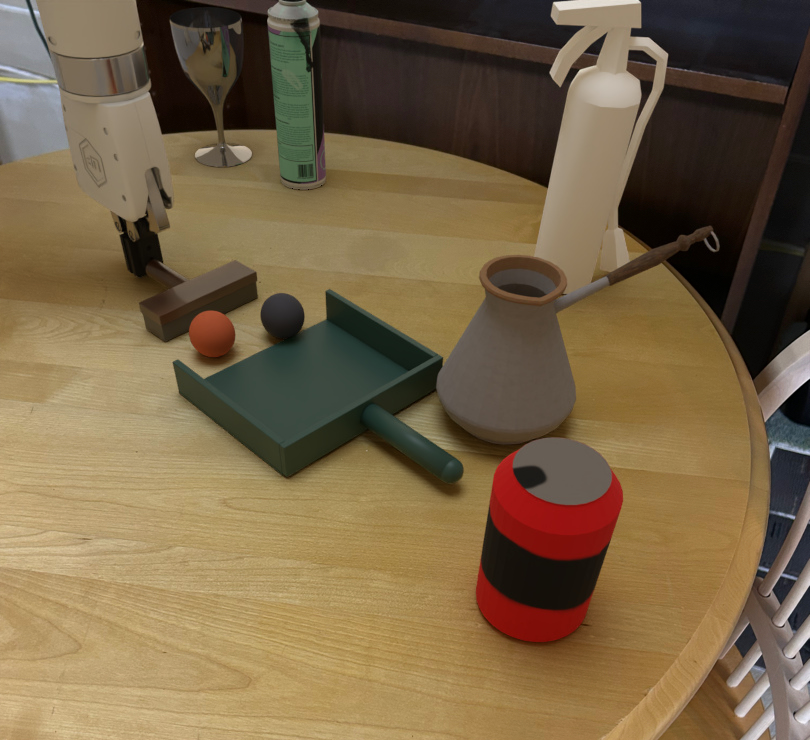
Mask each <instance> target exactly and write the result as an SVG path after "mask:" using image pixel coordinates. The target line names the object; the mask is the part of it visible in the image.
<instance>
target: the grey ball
mask: <svg viewBox="0 0 810 740" xmlns="http://www.w3.org/2000/svg"><path fill="white" fill-rule="evenodd" d="M305 316H306V315H305V309H304V307H303V304H301V302H300V300H299V299H297V298H296V297H295V296H294V295H292V294H289V293H286V292H278V293H277V292H276V293H274V294H272V295H270V296H269V297H267V298H266V299H265V300H264V302H263V304H262V305H261V308H260V315H259V317H260V321H261V324H262V326H263V328H264V330H265V331H266V332H267V333H268V334H269V335H271V336H273V337H275V338H278V339H287V338H290V337H292V336H294V335H296V334H297V333H299V332H301V329H302V328H303V327H304V323H305V319H306V318H305Z"/></svg>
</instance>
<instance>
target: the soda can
mask: <svg viewBox="0 0 810 740" xmlns="http://www.w3.org/2000/svg"><path fill="white" fill-rule="evenodd" d="M623 503H624V491H623V487H622V484H621V482H620V480H619V479H618V477H617V475H616V474H615V472H614V471H613V470H612V468H611V466H610V464H609V463H608V461H607V460H606V458H605V457H604V456H603V455H602V454H601V453H600V452H598V451H597V450H596V449H595V448H593V447H591V446H590V445H588V444H586V443H583V442H580V441H578V440H575V439H570V438H567V437H565V438H564V437H544V438H543V437H542V438H537V439H535V440H531V441H529V442H528V443H526V444H524V445H522V447H520V448H519V449H517V450H515V451H513V452H512V453H510V454H508V455H507V456H506V457H504V458H503V459H502V460H501V461H500V463H499V464H498V465H497V466H496V469H495V471H494V473H493V478H492V484H491V492H490V497H489V503H488V509H487V516H486V522H485V528H484V535H483V542H482V548H481V554H480V561H479V567H478V572H477V579H476V585H475V598H476V603H477V605H478V608H479V611H481V613H482V615H483V617H484V618H485V620H487V621H488V622H489V623H490V625H492V626H493V627H494V628H495V629H496V630H498V631H500V632H501V633H503V634H505V635H507V636H508V637H511V638H514V639H517V640H521V641H525V642H531V643H547V642H552V641H557V640H560V639H563V638H566V637H568V636H569V635H571V634H572V633H573V632H575V631H576V630H577V629H578V628H579V627H580V626H581V625H582V624H583V621H584V620H585V618H586V615H587V614H588V610H589V606H590V605H591V604H590V603H591V602H592V601H591V600H592V598H593V595H594V592H595V590H596V589H595V588H596V585H597V584H598V580H599V577H600V574H601V571H602V568H603V565H604V561H605V559H606V555H607V553H608V549H609V547H610V544H611V540H612V538H613V535H614V532H615V530H616V529H615V528H616V525H617V522H618V519H619V517H620V513H621V510H622V508H623V507H622V506H623Z"/></svg>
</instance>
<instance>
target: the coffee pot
mask: <svg viewBox="0 0 810 740" xmlns="http://www.w3.org/2000/svg"><path fill="white" fill-rule="evenodd" d="M710 235H711V236H712V237H713V239H714V241H715V246H716V249H714V248H713V247H712V246H711V245H710V244H709V241H708V239H707V238H708V237H709V236H710ZM702 241H703V242H704V245H706V247H707V248H708V249H709V251H710V252H713V253H717V252H719V251H720V241H719V238H718V236H717V235H716V233H715V232H714V227H713V226H712V225H707V226H703V227H700V228H697V229H696V230H694V232H693V233H691V234H688V235H685V234H680V235H679V236H678V237H677V239H676V241H673V242H670V243H667V244H663V245H660V246H658V247H654V248H651V249H650V250H648V251H646V252H644V253H642V254H641V255H639V256H637V257H635V258H634V259H632V260H630V262H628V263H627V264H625V265H623V266H621V267H619V268H618V269H616V270H614V271H612V272H609V273H607V274H605V275H604V276H603V277H601V278H599V279H597V280H595V281H593V282H592V281H591V283H590V284H588V285H586V286H584V287H582V288H579V289H577V290H575V291H573V292H571V293H569V294H563V293H564V291H565V289H566V287H567V277H566V275H565V274H564V272H563V271H562V270H561V269H560V268H559V267H558V266H556V265H555V264H553V263H551V262H549V261H547V260H544V259H541V258H538V257H534V255H528V254H507V255H502V256H497V257H494V258H492V259H489V260H488V261H487V262H486V263H484V264H483V266H482V267H481V269H480V271H479V275H478V279H479V281H480V284H481V286H482V287H483V289H484V294H485V297H484V299H483V300H482V302H481V304H480V305H479V307H478V308H477V310H476V312H475V313H474V315H473V316H472V318H471V320H470V321H469V323H468V325H467V326H466V328H465V329H464V331H463V333H462V335H461V336H460V338H459V339H458V341H457V342H456V344H455V345H454V347H453V349H452V350H451V352H450V354H449V356H448V357H447V359H446V360H445V362H443V367H442V368H441V370H440V372H439V373H438V377H437V384H436V389H435V390H436V393H437V396H438V399H439V402H440V404H441V407H442V408H443V410H444V412H445V413H446V414H447V416H448V417H449V418H450V420H452V421H453V422H454V423H456V424H457V425H458V426H459V427H461V428H462V429H464V431H466V432H467V433H468V434H470V435H471V436H473V437H475V438H476V439H479V440H481V441H484V442H487V443H492V444H496V445H497V444H498V445H506V446H508V445H519V444H523V443H527V442H531V441H533V440H534V439H535V440H536V439H539V438H541V437H543V436H545V435H547V434H549V433H550V432H553V431H555V430H557V428H558V427H559V426H560V425H561V424H562V423H563V422H564V421H565V420H566V419H567V418H568V417H569V416H570V414H572V411H573V409H574V407H575V404H576V401H577V389H576V383H575V379H574V375H573V371H572V367H571V363H570V361H569V360H570V359H569V356H568V353H567V349H566V346H565V345H566V344H565V341H564V338H563V334H562V330H561V326H560V323H559V319H558V315H557V314H558V313H560V312H562V311H564V310H566V309H567V308H569V307H571V306H573V305H575V304H577V303H579V302H581V301H582V300H585V299H586V298H588V297H590V296H592V295H595V293H598V292H600V291H602V290H604V289H605V288H607V287H611V286H613V285H616V284H618V283H620V282H623V281H625V280H627V279H629V278H632V277H634V276H637V275H639V274H641V273H644V272H646V271H648V270H650V269H653V268H655V267H657V266H660V265H661V264H662V263H664V262H665V261H666V260H668V259H669V258H671V257H672V256H674V255H675V254H677V253H678V252H680V251H681V252H687V251H689V249H690V247H691V245H693V244H695V243H697V242H702ZM561 295H563V296H561Z"/></svg>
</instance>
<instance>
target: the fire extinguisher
mask: <svg viewBox="0 0 810 740" xmlns="http://www.w3.org/2000/svg"><path fill="white" fill-rule="evenodd" d="M550 17H551V19H552V20H553V21H554V23H555V25H557V26H558V25H559V26H579V27H582V28H581V29H579V30H578V31H577V32H576V33H574V34H573V36H572V37H571V38H569V40H568V41H567V42H566V44H565V45H564V46H562V48H560V50H559V51H558V54H557V55H556V58H555V59H554V62H553V64H552V66H551V68H550V70H549V75H550V77H551V78H552V80H553V81H554V82H555V84H556V85H558V86H559V88H561V87H562V85H563V84H564V81H565V79H566V77H567V75H568V73H569V72H570V69H571V68H572V67H573V66H572V65H573V64H574V63H575V62H576V61H577V60H578V59H579V58H580V57H581V56H582V54H583V53H584V52H585V51H586V50H587V49H588V48H589V47H590V46H591V45H592V44H594V43H595V42H597V40H599V39H600V38H602V37H603V36H604V35H606V36H605V38H604V42H603V44H602V47H601V49H600V52H599V55H598V58H597V60H596V64H595V65H592V66H588V67H585V68H581V69H579V71H578V72H577V73H576V75H575V76H574V78H573V79H572V81H571V82H570V84H569V87H568V91H567V93H566V94H567V95H566V99H565V104H564V109H563V113H562V119H561V124H560V129H559V133H558V138H557V142H556V148H555V152H554V157H553V162H552V166H551V172H550V177H549V182H548V186H547V187H548V188H547V191H546V196H545V200H544V205H543V209H542V210H543V211H542V216H541V219H540V225H539V229H538V234H537V240H536V244H535V249H534V254H533V257H538V258H541V259H544V260H547V261H549V262H551V263H553V264H555V265H556V266H558V267H559V268H560V269H561V270H562V271H563V272H564V274H565V275H566V277H567V287H566V289H565V291H564V293H563V294H562V295H567V294H569V293H571V292H573V291H575V290H577V289H579V288H582V287H584V286H586V285H588V284H590V283H592V280H593V277H594V274H595V269H596V265H597V262H598V259H599V254H600V251H601V254H600V264H599V270H600V271H604V272H609V273H611V272H612V271H614V270H616V269H618V268H619V267H621V266H623V265H625V264H627V263H628V262H630V261H631V260H630V255H629V252H628V247H627V243H626V239H625V233H624V230H623V228H621V227H619V205H620V203H621V200H622V197H623V194H624V191H625V188H626V186H627V183H628V178H629V176H630V174H631V170H632V167H633V165H634V162H635V159H636V156H637V153H638V150H639V147H640V144H641V142H642V139H643V135H644V133H645V129H646V126H647V124H648V123H649V120H650V119H651V116H652V114H653V112H654V109H655V107H656V106H657V103H658V101H659V99H660V96H661V94H662V93H663V91H664V88H665V81H666V73H667V66H668V58H669V53H668V52H667V51H665V50H664V49H663V48H662V47H660V46H659V45H658V44H657V43H656V42H654V41H653V40H652V38H650V37H646V36H631V34H632V33H631V32H632V29H642V2H641V1H640V0H563V1H562V0H561V1H553V2H552V6H551V11H550ZM630 51H643V52H644V53H646V54H647V55H648V56H650V57H651V58H652V59H653V60H655V61H656V64H655V65H656V66H655V69H654V70H655V71H654V78H653V84H652V89H651V92H650V93H649V96H648V98H647V100H646V102H645V104H644V106H643V108H642V110H641V113H640V115H639V117H638V119H637V120H636V118H637V115H638V111H639V109H640V104H641V99H642V89H641V88H642V87H641V80H640V79H639V78H637V77H636V76H635V75H633V74H632V73H631V72H629V71H628V70H627V68H628V60H629V52H630Z"/></svg>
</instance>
